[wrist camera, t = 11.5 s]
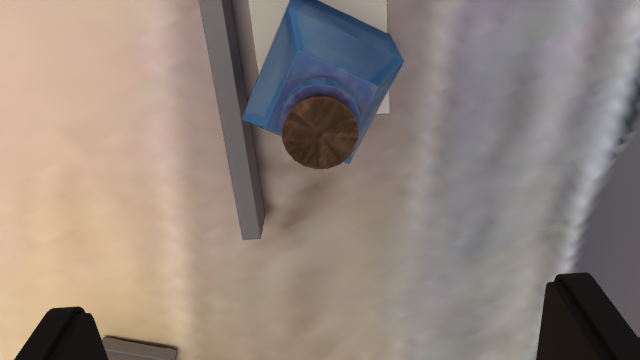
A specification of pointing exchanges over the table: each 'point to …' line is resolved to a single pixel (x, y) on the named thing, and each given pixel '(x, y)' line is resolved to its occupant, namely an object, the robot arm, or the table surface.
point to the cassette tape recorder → (135, 351)
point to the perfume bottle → (322, 83)
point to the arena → (225, 61)
